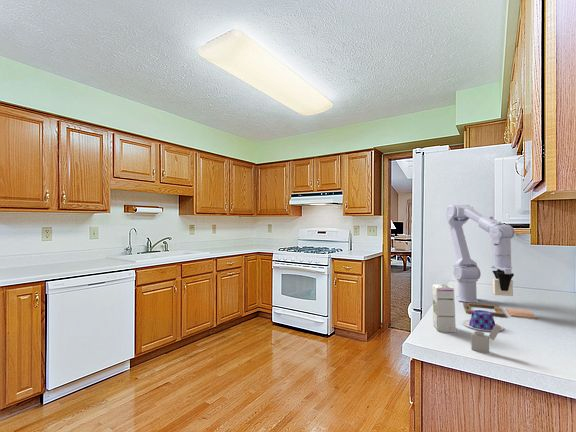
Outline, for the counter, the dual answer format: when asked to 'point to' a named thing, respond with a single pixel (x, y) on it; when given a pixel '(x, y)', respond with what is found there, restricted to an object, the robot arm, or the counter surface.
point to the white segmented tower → (444, 308)
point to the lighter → (483, 339)
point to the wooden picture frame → (498, 310)
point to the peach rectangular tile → (520, 313)
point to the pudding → (481, 320)
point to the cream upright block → (498, 290)
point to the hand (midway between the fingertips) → (503, 289)
